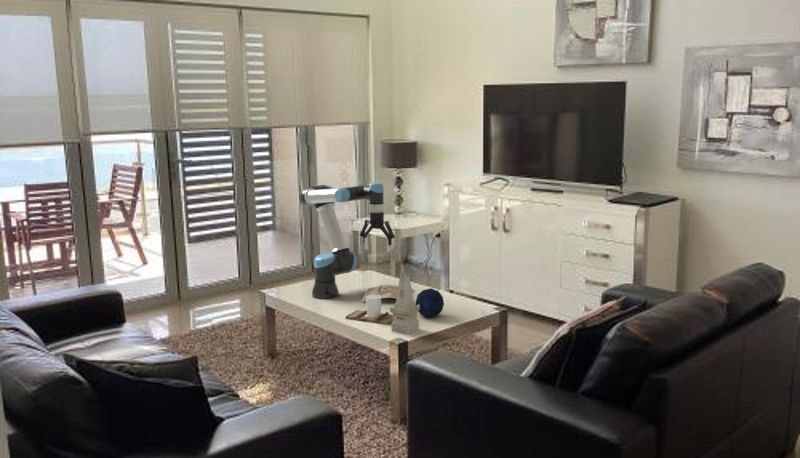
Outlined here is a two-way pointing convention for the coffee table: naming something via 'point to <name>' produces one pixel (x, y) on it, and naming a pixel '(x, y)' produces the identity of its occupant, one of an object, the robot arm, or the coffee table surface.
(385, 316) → the brown wooden board
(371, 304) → the white cup
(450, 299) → the coffee table surface
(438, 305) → the decorative orb
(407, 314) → the miniature monument
